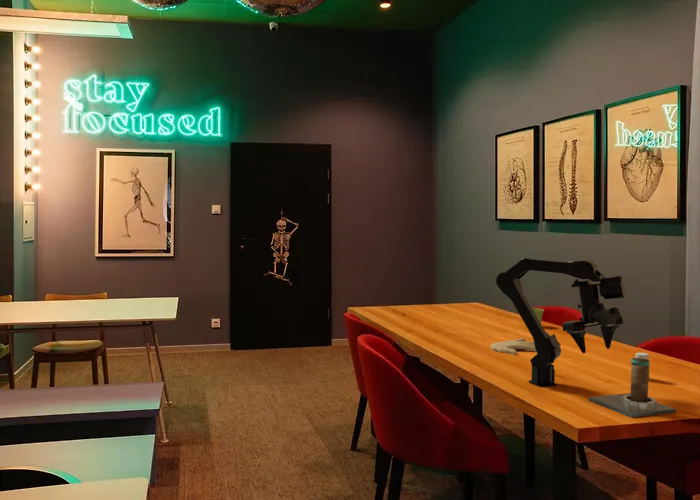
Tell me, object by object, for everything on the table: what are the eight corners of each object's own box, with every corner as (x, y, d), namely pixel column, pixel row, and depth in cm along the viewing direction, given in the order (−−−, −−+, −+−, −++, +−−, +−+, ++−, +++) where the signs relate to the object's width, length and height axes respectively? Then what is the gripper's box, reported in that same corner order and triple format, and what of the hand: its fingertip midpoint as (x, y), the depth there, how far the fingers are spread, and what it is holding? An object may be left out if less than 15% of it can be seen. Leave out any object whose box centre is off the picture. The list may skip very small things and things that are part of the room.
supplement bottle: (644, 376, 217) (645, 352, 217) (651, 380, 212) (652, 355, 212) (630, 377, 217) (631, 352, 217) (637, 380, 212) (638, 355, 212)
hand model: (488, 339, 271) (536, 334, 268) (489, 350, 271) (538, 345, 269) (492, 350, 252) (545, 345, 250) (494, 362, 253) (546, 357, 250)
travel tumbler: (632, 407, 178) (634, 361, 177) (627, 403, 182) (628, 357, 182) (650, 408, 177) (651, 361, 176) (644, 403, 182) (645, 358, 181)
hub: (631, 417, 172) (631, 406, 172) (589, 400, 188) (589, 390, 188) (675, 412, 177) (675, 401, 177) (630, 396, 193) (630, 386, 193)
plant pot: (520, 326, 320) (520, 308, 320) (534, 324, 324) (535, 307, 324) (532, 328, 312) (533, 311, 311) (547, 327, 316) (548, 310, 315)
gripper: (582, 304, 188) (589, 358, 187) (633, 296, 194) (639, 348, 193) (558, 304, 198) (564, 354, 198) (607, 296, 204) (613, 345, 204)
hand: (596, 350), depth 198 cm, fingers open, 9 cm apart
